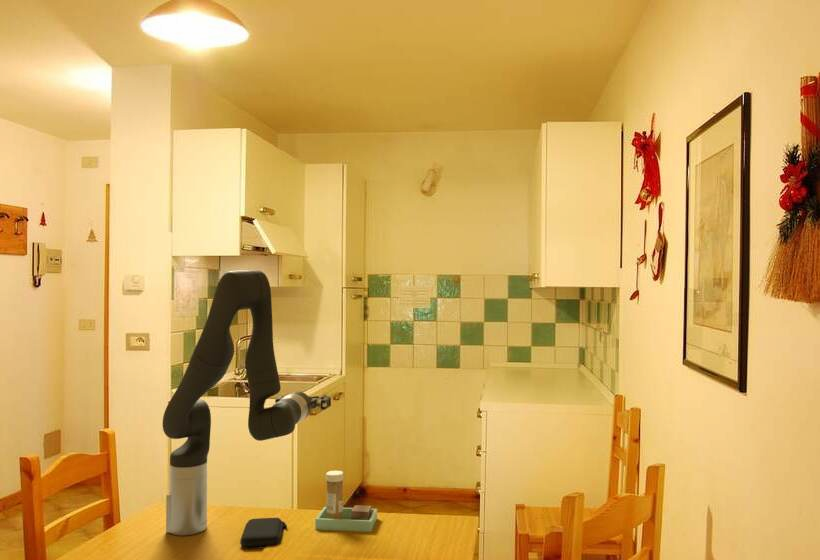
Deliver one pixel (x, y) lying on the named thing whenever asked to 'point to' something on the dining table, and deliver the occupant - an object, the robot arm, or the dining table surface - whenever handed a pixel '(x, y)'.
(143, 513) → the dining table surface
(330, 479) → the sprinkles bottle
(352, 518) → the copper block
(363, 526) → the tray
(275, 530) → the carrying case or bag
